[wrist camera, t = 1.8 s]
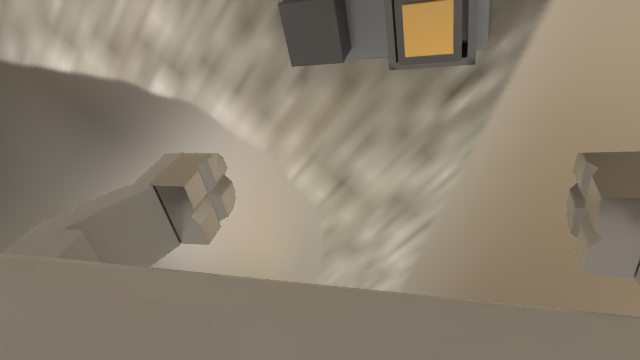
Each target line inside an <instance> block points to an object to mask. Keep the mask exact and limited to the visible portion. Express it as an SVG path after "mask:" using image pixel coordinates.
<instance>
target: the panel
mask: <svg viewBox="0 0 640 360" xmlns="http://www.w3.org/2000/svg"><path fill="white" fill-rule="evenodd" d="M278 6H279V10H280V15H281V19H282V24H283V28H284V33H285V37H286V42H287V46H288V51H289V55H290V60H291V64H292V67H294V66H308V65H321V64H334V63H343V62H344V61H345V60H355V59H368V58H381V57H389V68H390V70H397V69H412V68H427V67H442V66H456V65H471V64H475V55H476V50H485V49H488V31H489V11H490V0H462V61H455V62H441V63H427V64H412V65H399V64H398V50H397V36H396V22H395V9H394V0H279V4H278Z"/></svg>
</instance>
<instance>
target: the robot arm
mask: <svg viewBox="0 0 640 360" xmlns="http://www.w3.org/2000/svg"><path fill="white" fill-rule="evenodd" d="M226 170H227V166H226V163H225V161H224V158H223V157H222V156H221V155H219V154H218V153H168V154H165V155H163V156H162V157H161V158H160V159H159V160H158V161H157V162H156V163H155V164H154V165H153V166H152V167H150V169H148V171H146V172H145V173H144V174H143V175H142V176H141V177H140V178H139V179H138V180H136V181H135V182H134V183H133V184H132V185H131V186H124V187H122V188H119V189H117V190H115V191H113V192H110V193H108V194H106V195H104V196H101V197H99V198H97V199H95V200H92V201H90V202H88V203H86V204H83V205H81V206H79V207H77V208H74V209H72V210H70V211H68V212H65V213H63V214H61V215H59V216H56V217H54V218H52V219H50V220H47V221H45V222H43V223H40V224H38V225H36V226H35V227H34V228H32V229H31V230H30V231H29V232H28V233H26V234H25V235H24V236H23V237H22V238H20V239H19V240H18V241H17V242H15V243H14V244H13V245H12V246H11V247H9V249H7V250H6V251H4V252H0V360H640V317H635V316H625V315H616V314H605V313H596V312H586V311H576V310H567V309H556V308H547V307H537V306H527V305H516V304H507V303H497V302H487V301H478V300H467V299H458V298H448V297H438V296H428V295H417V294H408V293H398V292H389V291H379V290H369V289H359V288H349V287H339V286H329V285H319V284H309V283H299V282H289V281H279V280H269V279H260V278H250V277H239V276H230V275H220V274H210V273H200V272H190V271H181V270H171V269H161V268H150V266H152V265H153V264H154V263H156V262H157V261H159V260H160V259H161V258H162V257H164V256H165V255H167V254H168V253H170V252H171V251H172V250H174V249H175V248H176V247H178V246H179V245H180V243H184V244H185V243H186V244H207V245H209V243H210V242H211V241H212V239H213V238H214V236H215V235H216V233H217V231H218V230H219V229H220V227H221V226H220V222H219V221H221V220H223V219H224V218H226V217H228V216H229V214H230V213H231V211H232V209H233V207H234V203H235V189H234V186H233V183H232V181H231V180H229V179H228V178H227V177H226V176H225V172H226ZM573 172H574V175H575V178H576V181H577V183H576V184H575V185H574V186H573V187H572V188H571V189H570V191H569V197H568V205H567V206H568V207H567V217H568V224H569V228H570V232H571V234H573V235H574V236H575V237H577V243H576V248H575V249H576V253H577V256H578V259H579V262H580V266H581V269H582V273H587V274H597V275H607V276H617V277H627V278H635V281H636V282H637V283H638V284H639V285H640V152H600V153H599V152H598V153H578V155H577V158H576V161H575V165H574V170H573Z"/></svg>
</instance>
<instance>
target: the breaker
mask: <svg viewBox="0 0 640 360" xmlns="http://www.w3.org/2000/svg"><path fill="white" fill-rule="evenodd" d="M394 9H395V22H396V36H397V50H398V64H399V65H412V64H427V63H441V62H455V61H462V0H394Z"/></svg>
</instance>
